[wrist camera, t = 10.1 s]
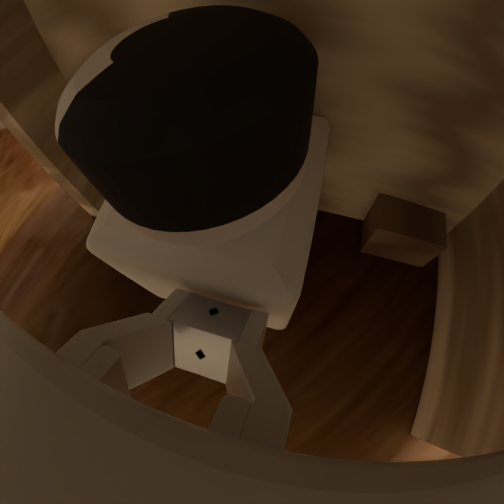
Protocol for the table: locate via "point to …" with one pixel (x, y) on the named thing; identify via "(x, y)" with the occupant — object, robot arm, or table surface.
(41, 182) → the table surface
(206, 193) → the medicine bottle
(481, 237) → the cubby shelf
